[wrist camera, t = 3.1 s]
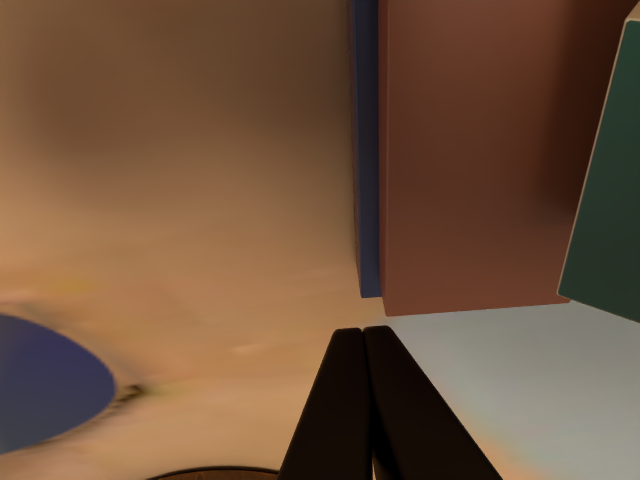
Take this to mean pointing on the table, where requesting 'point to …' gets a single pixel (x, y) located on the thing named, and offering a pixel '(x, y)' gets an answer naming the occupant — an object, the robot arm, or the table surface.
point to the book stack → (473, 144)
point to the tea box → (611, 196)
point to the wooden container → (223, 475)
